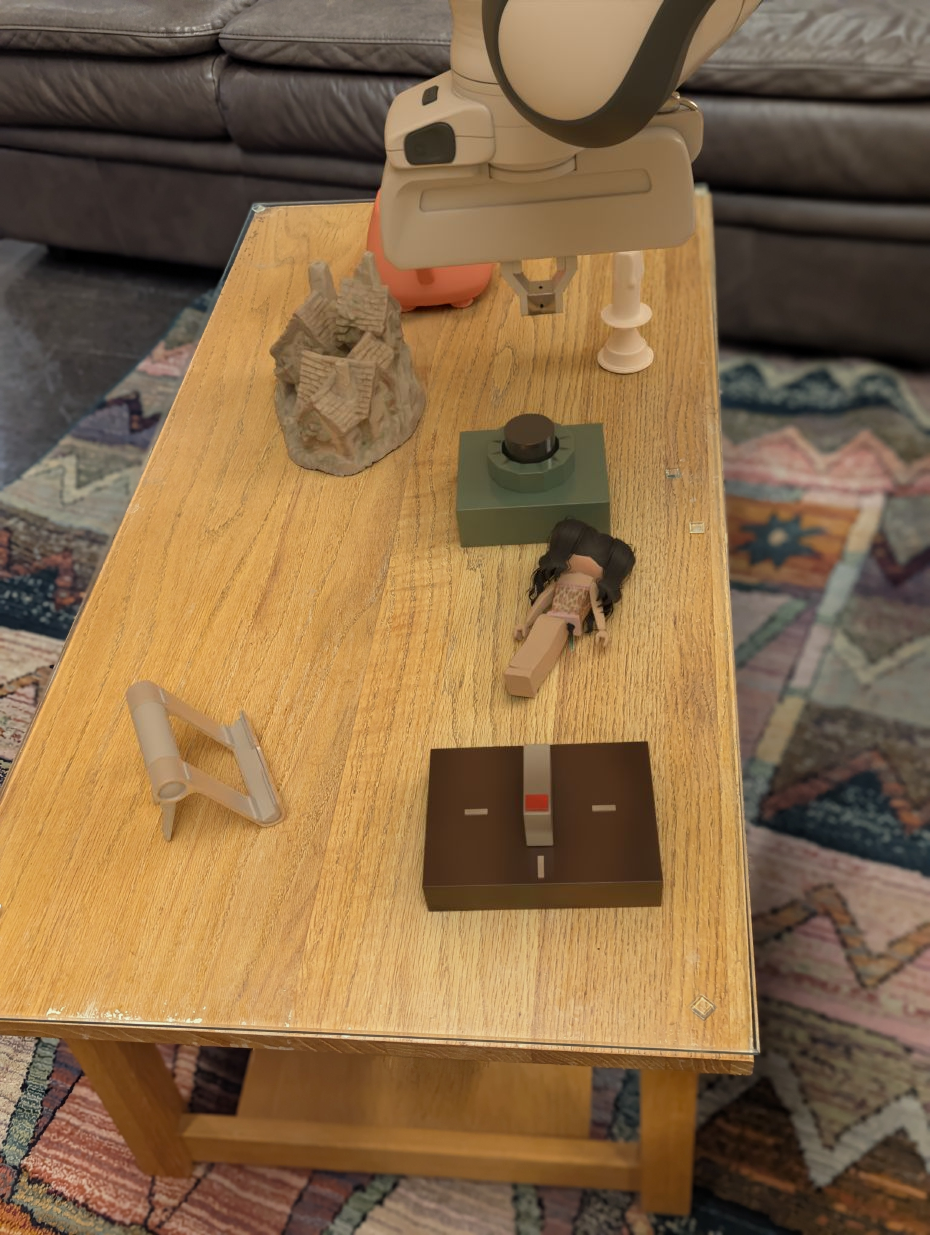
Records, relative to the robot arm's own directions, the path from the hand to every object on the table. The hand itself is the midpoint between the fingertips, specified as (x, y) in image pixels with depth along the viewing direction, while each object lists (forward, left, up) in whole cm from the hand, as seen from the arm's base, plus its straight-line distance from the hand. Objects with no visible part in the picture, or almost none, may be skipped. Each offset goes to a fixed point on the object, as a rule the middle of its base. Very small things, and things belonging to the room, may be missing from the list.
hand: (542, 310), depth 75 cm
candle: (-7, -22, -19) cm, 30 cm away
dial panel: (+2, +30, -19) cm, 36 cm away
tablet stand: (+24, +26, -19) cm, 40 cm away
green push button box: (+2, -2, -19) cm, 19 cm away
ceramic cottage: (+20, -16, -19) cm, 32 cm away
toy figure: (-1, +12, -19) cm, 23 cm away
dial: (+2, +30, -16) cm, 34 cm away
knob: (+2, -2, -13) cm, 14 cm away
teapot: (+12, -38, -19) cm, 44 cm away
